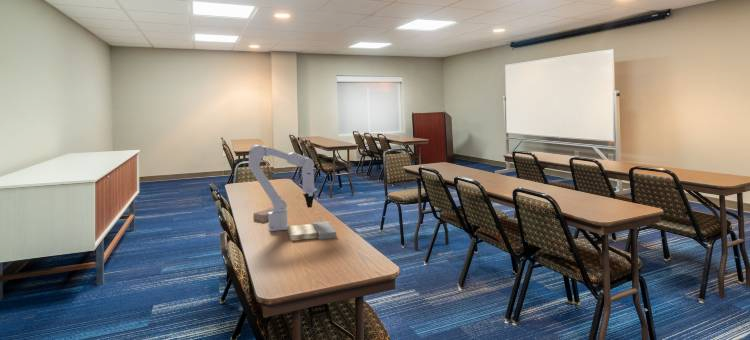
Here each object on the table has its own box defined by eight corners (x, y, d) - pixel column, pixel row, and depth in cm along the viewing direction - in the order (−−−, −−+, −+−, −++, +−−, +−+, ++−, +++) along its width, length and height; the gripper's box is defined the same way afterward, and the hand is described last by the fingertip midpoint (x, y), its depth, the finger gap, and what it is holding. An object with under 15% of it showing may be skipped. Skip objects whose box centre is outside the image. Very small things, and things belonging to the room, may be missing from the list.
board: (319, 239, 197) (318, 233, 196) (312, 228, 216) (312, 222, 215) (336, 237, 199) (335, 231, 199) (328, 226, 218) (327, 221, 218)
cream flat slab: (291, 240, 195) (291, 235, 195) (287, 231, 210) (287, 226, 210) (317, 237, 199) (317, 232, 198) (312, 228, 214) (312, 223, 213)
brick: (263, 222, 229) (262, 214, 228) (252, 220, 233) (252, 212, 233) (285, 216, 242) (285, 208, 242) (275, 214, 247) (274, 206, 246)
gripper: (318, 183, 212) (319, 209, 214) (314, 178, 225) (315, 203, 227) (304, 184, 210) (305, 211, 212) (300, 179, 224) (301, 204, 226)
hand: (309, 207), depth 220 cm, fingers closed
